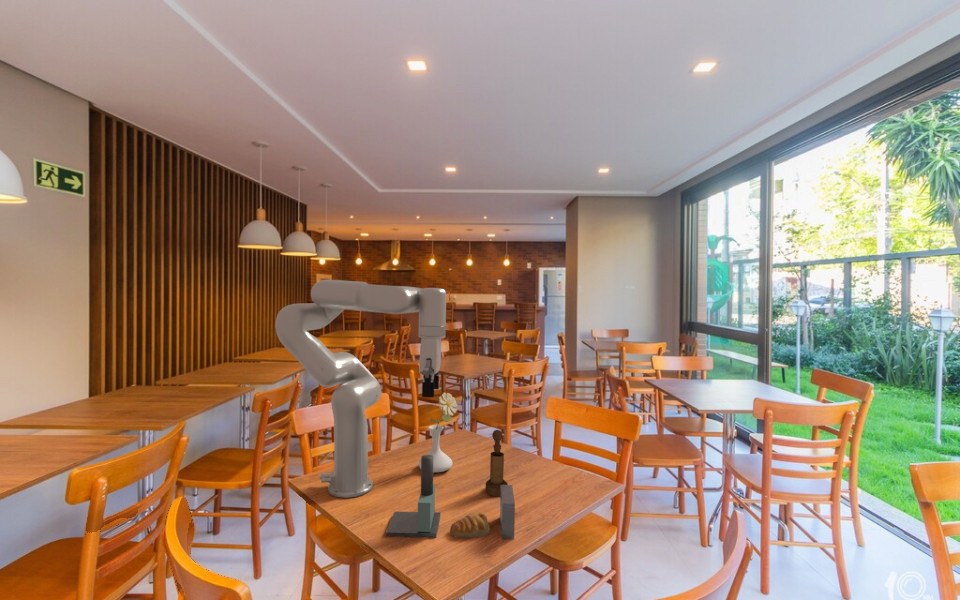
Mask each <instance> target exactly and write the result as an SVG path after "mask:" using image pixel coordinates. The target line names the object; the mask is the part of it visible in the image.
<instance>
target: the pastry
mask: <svg viewBox="0 0 960 600" xmlns="http://www.w3.org/2000/svg"><path fill="white" fill-rule="evenodd" d="M490 531H491V527H490V523H489V521H488V517H487V516H486V514H485V513H482V512H479V513H477V514H476V513H475V514H473V513H472V514H467V515H465V517H462V518H461V519H458V520H457V521H455V522H454V523H452V524H451V525H450V529H449V533H450V535H452V536H453V537H455V538H458V539H462V538H464V539H473V538H479V537H484V536H487V535H489V533H490Z"/></svg>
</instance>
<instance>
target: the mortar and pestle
mask: <svg viewBox="0 0 960 600" xmlns="http://www.w3.org/2000/svg"><path fill="white" fill-rule="evenodd" d="M491 436H492V439H493V441H494V444H493V447H492V448H493V451H491V453H490V469H489V471H490V472H489V473H490V474H489V479H488V480H487V481H486V482H485V489H484V490H485V493H486V494H488V496H492V497H500V488H501V485H509V484H508V482H507V481H506V480H505V479H504V467H505V466H504V464H505V463H504V462H505V461H504V460H505V454H504V452H502V451H501V449H502V445H501V440H502V439H503V432H502V431H501V430H500V429H495V430H494V431H493V432H492V434H491Z"/></svg>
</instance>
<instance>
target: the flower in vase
mask: <svg viewBox="0 0 960 600" xmlns="http://www.w3.org/2000/svg"><path fill="white" fill-rule="evenodd" d="M438 404H439V409H440V411H441V416H440V418H439V420H438V419H437V420H436V419H433V417H432V418H431V417H430V422H432V423H436V424H433V425H430V426H428V428H427V429H428V430H429V432H430V434H431V443H432V445H431V446H432V447H431V450H430V451H428V452H427V453H426V454H425V455H432V456H433V473H442V472H445V471H448V470H450V469H451V467H452V466H453V465H454V463H453V460H452V459H451V457H449V456H448V455H447V454H446V453H445V452H443V451H442V450H441V448H440V436H441V433H442V431H443V429H444V426H443V425H439V424H440V422H441V420H443V421H444V422H445V423H447V422H450V421H451V420H453V416H454V414H456V413H457V411H458V404H457V401H456V398H455V397H453V395H452V394H451V393H449V392H443V393H442V394H441V395H440V396H439V399H438ZM417 466H418V468H419V469H420V470H421V458H420V459H419V461H418V463H417Z"/></svg>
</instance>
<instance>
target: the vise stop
mask: <svg viewBox="0 0 960 600" xmlns="http://www.w3.org/2000/svg"><path fill="white" fill-rule="evenodd" d="M499 498H500V501H499V506H500V507H499V521H500V534H501V535H500V537H501V540H515V524H516V523H515V520H516V519H515V517H516V516H515V515H516V513H515V512H516V510H515V509H516V505H515V504H516V502H515V495H514V489H513V485H512V484H508V485H501V488H500V496H499Z"/></svg>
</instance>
